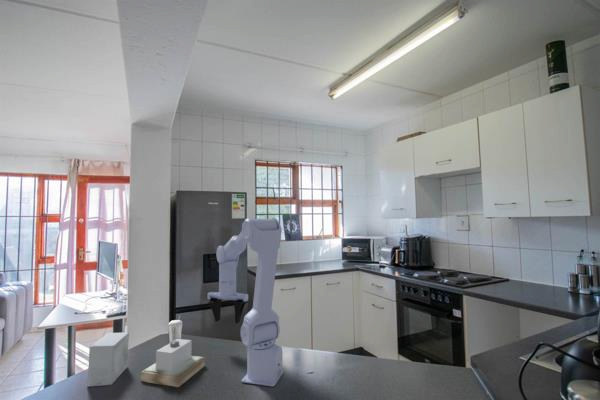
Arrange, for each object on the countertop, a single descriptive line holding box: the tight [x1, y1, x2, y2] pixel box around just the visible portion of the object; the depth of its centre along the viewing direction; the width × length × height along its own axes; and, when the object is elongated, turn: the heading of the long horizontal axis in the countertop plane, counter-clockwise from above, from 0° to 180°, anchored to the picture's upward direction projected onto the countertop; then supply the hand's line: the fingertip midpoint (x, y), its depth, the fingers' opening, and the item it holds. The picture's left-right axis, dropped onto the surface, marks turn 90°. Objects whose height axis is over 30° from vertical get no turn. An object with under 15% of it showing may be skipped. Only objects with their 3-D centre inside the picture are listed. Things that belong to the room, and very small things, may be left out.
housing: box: [155, 338, 193, 372], centre depth 87 cm, size 9×5×6 cm, turn 165°
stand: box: [140, 355, 206, 388], centre depth 87 cm, size 12×12×3 cm
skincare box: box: [86, 331, 130, 388], centre depth 86 cm, size 10×6×10 cm, turn 9°
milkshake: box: [168, 314, 183, 343], centre depth 106 cm, size 4×5×10 cm
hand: (227, 321), depth 103 cm, fingers open, 7 cm apart
